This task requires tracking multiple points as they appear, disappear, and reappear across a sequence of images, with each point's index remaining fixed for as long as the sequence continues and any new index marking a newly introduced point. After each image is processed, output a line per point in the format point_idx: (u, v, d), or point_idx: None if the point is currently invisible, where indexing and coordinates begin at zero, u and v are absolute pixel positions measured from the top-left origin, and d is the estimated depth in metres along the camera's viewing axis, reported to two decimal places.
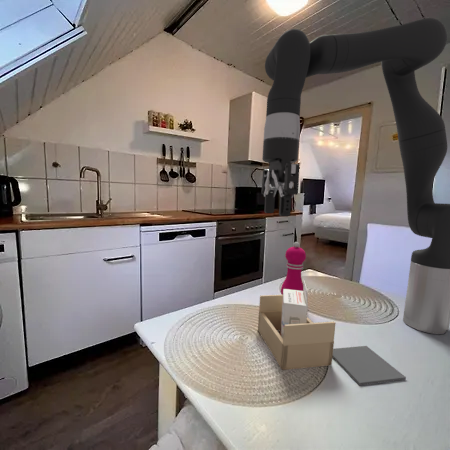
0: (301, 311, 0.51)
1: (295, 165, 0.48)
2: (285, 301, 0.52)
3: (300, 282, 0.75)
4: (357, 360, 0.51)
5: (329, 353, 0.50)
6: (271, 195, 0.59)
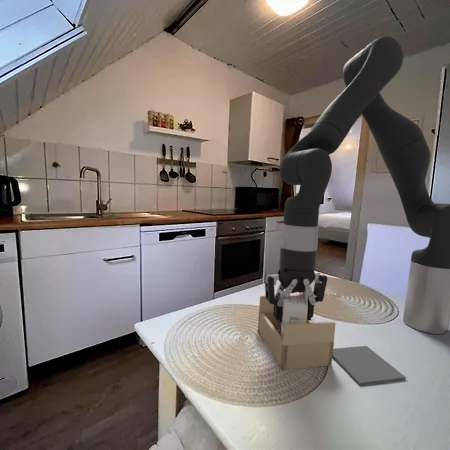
0: (301, 310, 0.51)
1: None
2: (285, 301, 0.52)
3: None
4: (357, 360, 0.51)
5: (329, 353, 0.50)
6: None
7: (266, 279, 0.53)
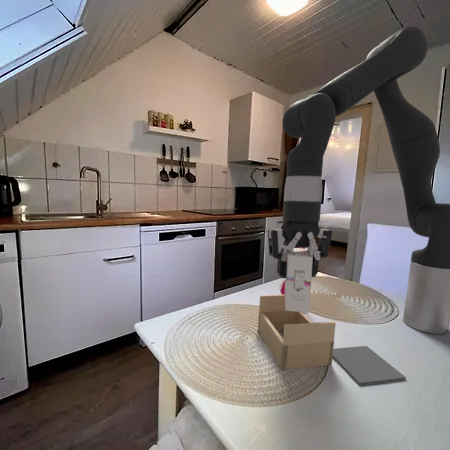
0: (306, 263, 0.50)
1: None
2: (289, 254, 0.51)
3: None
4: (357, 360, 0.51)
5: (329, 353, 0.50)
6: None
7: (269, 233, 0.52)
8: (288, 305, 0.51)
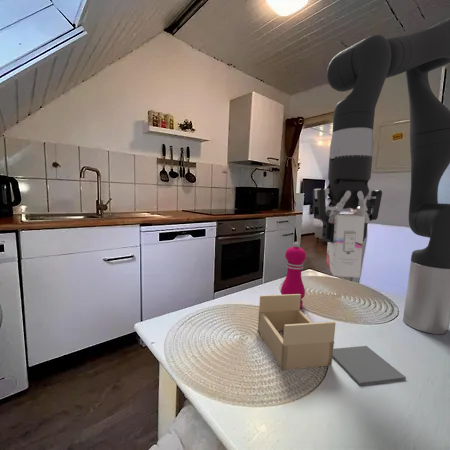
0: (358, 222, 0.46)
1: None
2: (338, 215, 0.47)
3: (300, 282, 0.75)
4: (357, 360, 0.51)
5: (329, 353, 0.50)
6: None
7: (315, 193, 0.48)
8: (337, 270, 0.48)
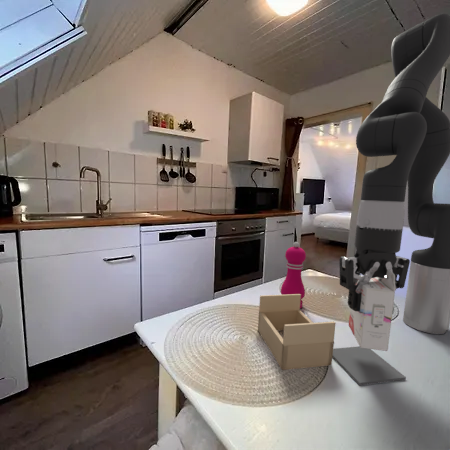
0: (387, 297, 0.45)
1: None
2: (366, 286, 0.46)
3: (300, 282, 0.75)
4: (357, 360, 0.51)
5: (329, 353, 0.50)
6: None
7: (343, 262, 0.47)
8: (364, 342, 0.47)
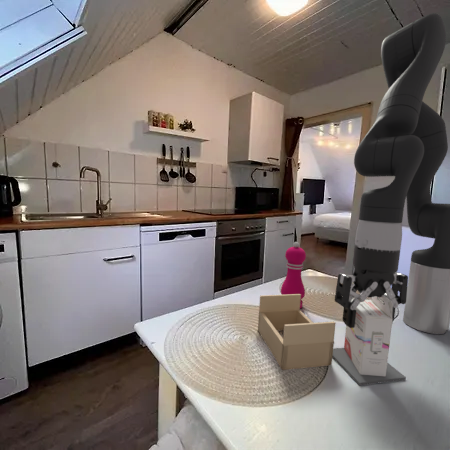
0: (386, 324, 0.46)
1: None
2: (365, 314, 0.47)
3: (300, 282, 0.75)
4: None
5: (329, 353, 0.50)
6: None
7: (341, 278, 0.48)
8: (363, 369, 0.47)
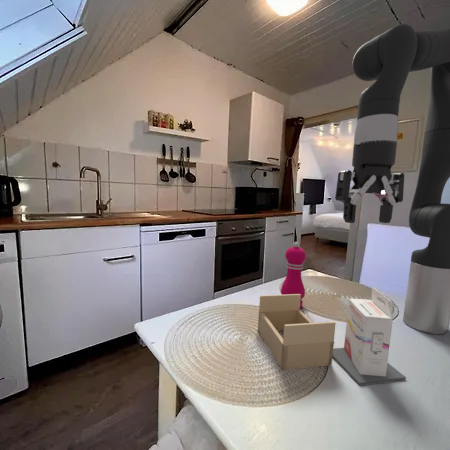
0: (386, 324, 0.46)
1: None
2: (365, 314, 0.47)
3: (300, 282, 0.75)
4: None
5: (329, 353, 0.50)
6: None
7: (341, 174, 0.50)
8: (363, 369, 0.47)
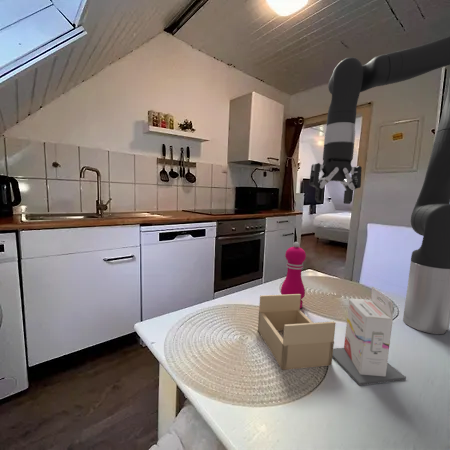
0: (386, 324, 0.46)
1: None
2: (365, 314, 0.47)
3: (300, 282, 0.75)
4: None
5: (329, 353, 0.50)
6: None
7: (313, 166, 0.67)
8: (363, 369, 0.47)
